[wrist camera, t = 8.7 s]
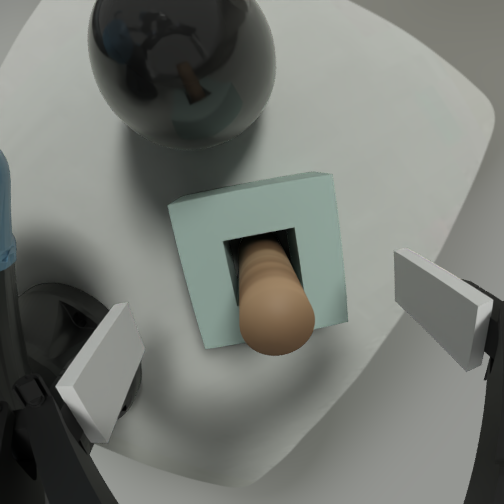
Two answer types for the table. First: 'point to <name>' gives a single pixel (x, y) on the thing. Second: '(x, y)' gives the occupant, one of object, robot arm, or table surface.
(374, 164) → the table surface
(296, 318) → the peg
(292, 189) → the socket block
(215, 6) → the pump dispenser
